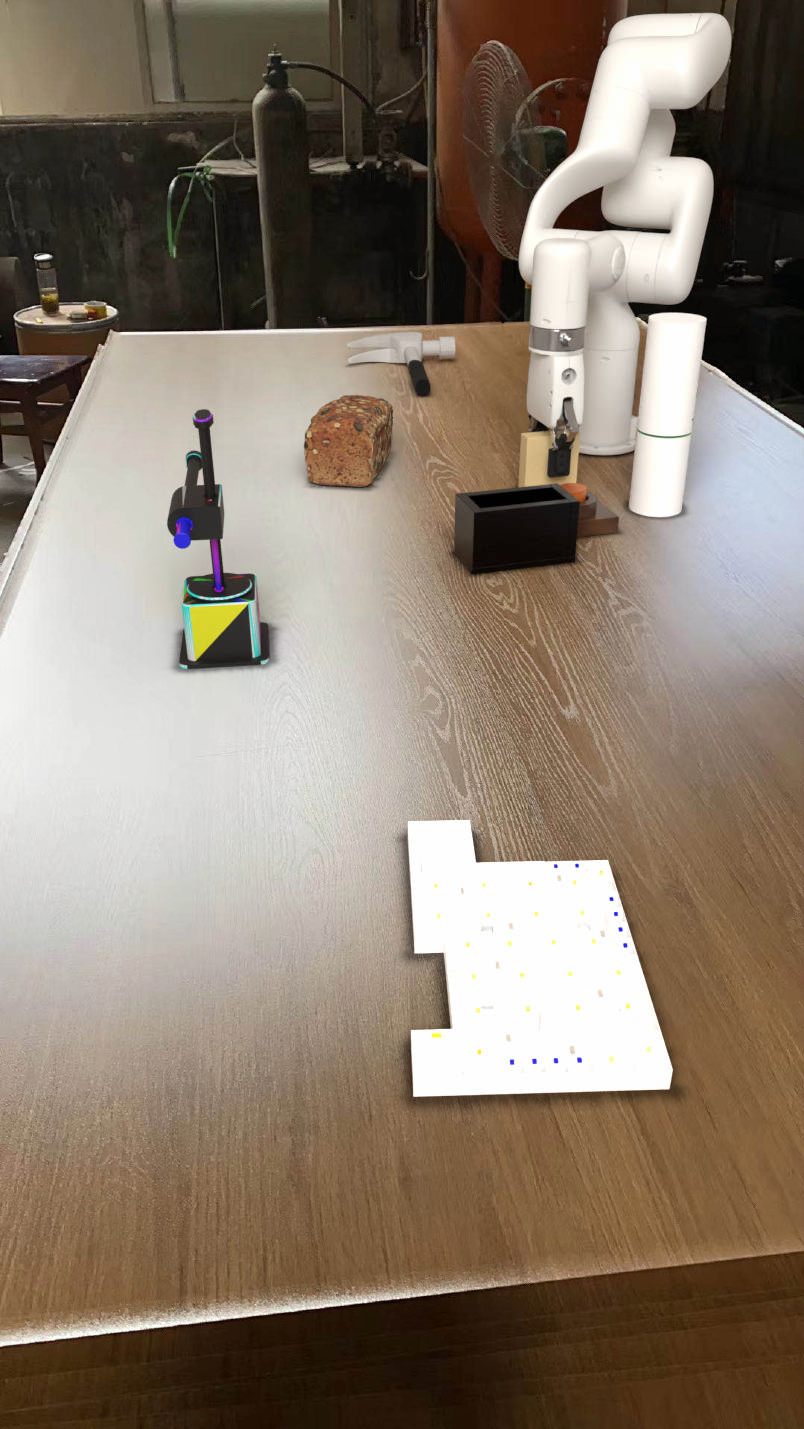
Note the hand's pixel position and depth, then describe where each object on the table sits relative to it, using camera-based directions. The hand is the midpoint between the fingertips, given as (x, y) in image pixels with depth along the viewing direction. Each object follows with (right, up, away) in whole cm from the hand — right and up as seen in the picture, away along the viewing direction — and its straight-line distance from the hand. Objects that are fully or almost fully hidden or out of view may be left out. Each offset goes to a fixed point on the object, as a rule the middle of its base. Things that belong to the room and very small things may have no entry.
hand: (548, 467), depth 156 cm
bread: (-29, +2, +10) cm, 30 cm away
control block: (+1, -10, -12) cm, 16 cm away
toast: (0, -3, +2) cm, 3 cm away
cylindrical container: (+14, -7, -6) cm, 17 cm away
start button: (+1, -7, -13) cm, 15 cm away
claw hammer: (-20, +31, +58) cm, 69 cm away
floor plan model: (-13, -52, -80) cm, 96 cm away
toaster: (-7, -16, -21) cm, 27 cm away
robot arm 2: (-40, -26, -37) cm, 60 cm away
